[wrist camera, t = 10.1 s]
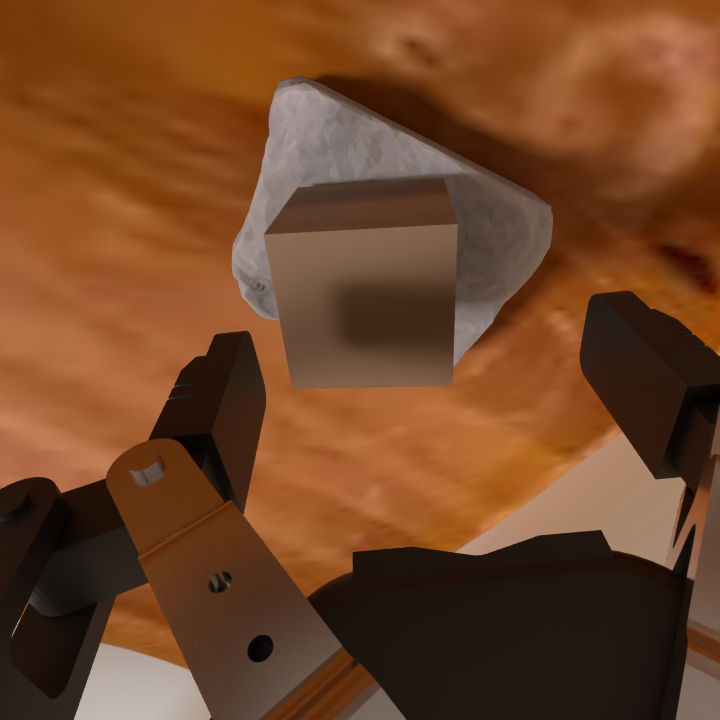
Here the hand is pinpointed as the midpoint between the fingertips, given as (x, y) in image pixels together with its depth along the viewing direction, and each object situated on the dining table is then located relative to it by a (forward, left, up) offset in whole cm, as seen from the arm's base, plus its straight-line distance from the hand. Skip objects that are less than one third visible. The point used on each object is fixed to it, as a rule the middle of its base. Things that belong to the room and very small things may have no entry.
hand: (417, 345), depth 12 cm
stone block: (+1, -1, -12) cm, 12 cm away
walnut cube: (0, -1, -7) cm, 7 cm away
